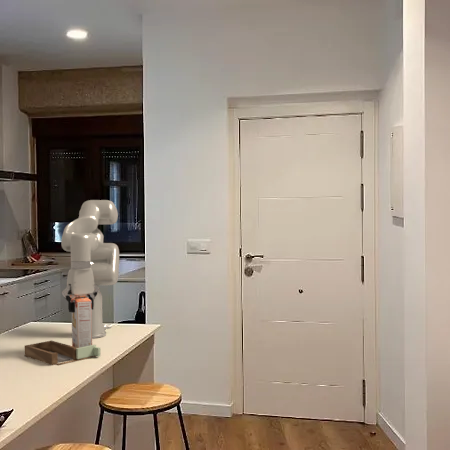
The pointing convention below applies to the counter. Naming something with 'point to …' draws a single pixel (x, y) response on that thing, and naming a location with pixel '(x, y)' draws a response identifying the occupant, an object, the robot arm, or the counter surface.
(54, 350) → the box
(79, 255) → the robot arm
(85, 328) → the cracker box
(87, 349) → the pale green l-shaped block
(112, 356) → the counter surface
